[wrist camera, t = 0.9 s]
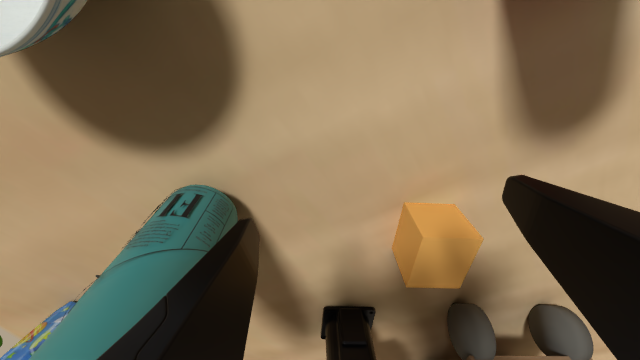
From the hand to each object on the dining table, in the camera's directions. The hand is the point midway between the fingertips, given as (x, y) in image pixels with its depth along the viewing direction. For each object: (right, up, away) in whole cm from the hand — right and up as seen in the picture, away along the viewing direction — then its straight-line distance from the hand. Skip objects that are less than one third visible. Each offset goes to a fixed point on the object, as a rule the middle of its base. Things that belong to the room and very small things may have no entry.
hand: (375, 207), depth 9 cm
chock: (+8, -4, +17) cm, 20 cm away
